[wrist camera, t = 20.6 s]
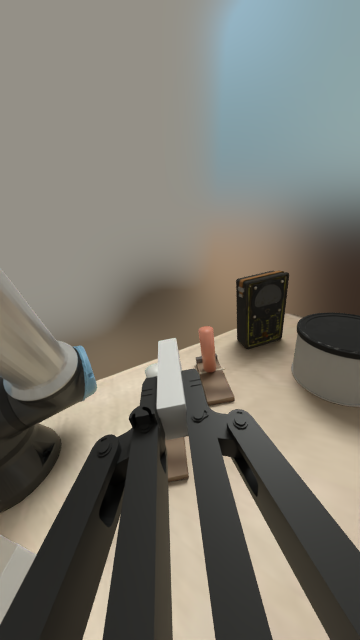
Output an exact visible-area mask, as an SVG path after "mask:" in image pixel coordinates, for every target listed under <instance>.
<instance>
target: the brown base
mask: <svg viewBox="0 0 360 640" xmlns="http://www.w3.org/2000/svg"><path fill="white" fill-rule="evenodd" d="M215 358H216V370H215V371H214V372H211V373H209V372H206V371H204V368H203V361H202V356H201V357H196V363H197V367H198V371H199V374H200V378H201V382H202V385H203V389H204V393H205V396H206V400H207V403H208V406H209V405H215V404H220V403H225V402H230V401H234V395H233V393H232V391H231V388H230V386H229V384H228V382H227V380H226V377H225V375H224V373H223V371H222V370H225V368H221V366H220V364H219V362H218V360H217V355H216V354H215Z"/></svg>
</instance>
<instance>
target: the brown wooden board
mask: <svg viewBox="0 0 360 640" xmlns="http://www.w3.org/2000/svg"><path fill="white" fill-rule="evenodd" d="M165 445H166V448H167V462H168V482H172V481H177V480H182V479H187V478H189V476H188V467H187V458H186V449H185V440H184V437H181V438H175V439H170V440H166V437H165Z"/></svg>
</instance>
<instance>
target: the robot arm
mask: <svg viewBox="0 0 360 640" xmlns="http://www.w3.org/2000/svg"><path fill="white" fill-rule="evenodd" d="M96 389H97V384H96V380H95V377H94V374H93V371H92V368H91V365H90V362H89V360H88V357H87V354H86V352H85V349H84V348H83V347H82V346H77V347H72V346H70V345H69V344H67V343H64V342H61V341H56V340H55V338H54V337H53V336H52V334H51V333H50V332H49V330H48V329H47V328H46V326H45V325H44V324H43V322H42V321H41V320H40V319H39V317H38V316H37V315H36V313H35V312H34V311H33V309H32V308H31V307H30V306H29V304H28V303H27V302H26V300H25V299H24V298H23V296H22V295H21V294H20V293H19V291H18V290H17V288H16V287H15V286H14V285H13V283H12V282H11V281H10V279H9V278H8V277H7V275H6V274H5V273H4V272H3V270H2V269H1V268H0V512H2V511H4V510H7V509H9V508H11V507H12V506H14V505H16V504H17V503H19V502H20V501H21V500H23V499H24V498H25V497H27V496H28V495H29V494H30V493H31V492H32V491H33V490H34V489H35V488H36V487H37V486H38V485H39V484H40V483H41V482H42V481H43V480H44V479H45V477H46V476H47V475H48V473H49V472H50V470H51V469H52V467H53V466H54V464H55V462H56V460H57V458H58V456H59V453H60V448H61V440H60V437H59V436H58V435H57V433H56V432H55V431H54V430H53V429H51V428H49V427H46V426H44V425H41V424H39V423H40V422H42V421H43V420H45V419H47V418H49V417H51V416H53V415H55V414H57V413H59V412H61V411H63V410H65V409H67V408H68V407H70V406H72V405H74V404H76V403H78V402H82V401H84V400H85V398H87V397H89V396H91V395H92V394H94V393H95V391H96ZM129 420H130V423H131V425H132V427H133V428H132V429H130V430H129V431H128V432H126V433H124V434H122V435H120V436H118V437H116V436H115V435H112V434H111V435H106V436H104V437H102V438H101V439H99V440H98V441H97V442H96V444H95V445H94V447H93V448H92V450H91V452H90V454H89V456H88V458H87V460H86V462H85V463H84V465H83V467H82V469H81V471H80V473H79V475H78V477H77V479H76V481H75V483H74V484H73V486H72V488H71V490H70V492H69V494H68V496H67V498H66V500H65V502H64V504H63V505H62V507H61V509H60V511H59V513H58V515H57V517H56V519H55V521H54V523H53V525H52V526H51V528H50V530H49V532H48V534H47V536H46V538H45V540H44V542H43V544H42V546H41V547H40V549H39V551H38V553H37V555H36V557H35V559H34V561H33V563H32V565H31V567H30V568H29V570H28V572H27V574H26V576H25V578H24V580H23V582H22V584H21V586H20V588H19V590H18V591H17V593H16V595H15V597H14V599H13V601H12V603H11V605H10V607H9V609H8V611H7V612H6V614H5V616H4V618H3V620H2V622H1V624H0V640H82V639H83V635H84V632H85V629H86V626H87V622H88V619H89V616H90V612H91V609H92V606H93V603H94V599H95V596H96V593H97V590H98V586H99V583H100V580H101V576H102V573H103V570H104V567H105V563H106V560H107V557H108V553H109V550H110V547H111V544H112V540H113V537H114V534H115V531H116V527H117V524H118V521H119V517H120V523H119V530H118V537H117V544H116V550H115V557H114V564H113V571H112V578H111V585H110V592H109V599H108V606H107V613H106V620H105V627H104V633H103V640H173V635H172V600H171V566H170V531H169V496H168V462H167V448H166V445H165V437H166V440H170V439H175V438H181V437H186V436H189V442H190V450H191V458H192V465H193V473H194V480H195V488H196V495H197V503H198V510H199V518H200V525H201V533H202V540H203V548H204V555H205V563H206V571H207V578H208V586H209V593H210V601H211V608H212V616H213V623H214V631H215V638H216V640H273V639H272V636H271V632H270V628H269V625H268V621H267V617H266V614H265V610H264V606H263V603H262V599H261V595H260V592H259V588H258V584H257V581H256V577H255V573H254V570H253V566H252V562H251V559H250V555H249V551H248V548H247V544H246V541H245V537H244V533H243V530H242V526H241V522H240V519H239V515H238V511H237V508H236V504H235V500H234V497H233V493H232V489H231V486H230V482H229V478H228V475H227V471H226V467H225V464H224V460H223V457H222V455H223V456H228V457H231V458H232V460H233V462H234V464H235V466H236V468H237V469H238V471H239V473H240V475H241V477H242V479H243V480H244V482H245V484H246V486H247V488H248V490H249V491H250V493H251V495H252V497H253V499H254V501H255V502H256V504H257V506H258V508H259V510H260V512H261V513H262V515H263V517H264V519H265V521H266V523H267V524H268V526H269V528H270V530H271V532H272V534H273V535H274V537H275V539H276V541H277V543H278V545H279V546H280V548H281V550H282V552H283V554H284V556H285V557H286V559H287V561H288V563H289V565H290V567H291V568H292V570H293V572H294V574H295V576H296V578H297V579H298V581H299V583H300V585H301V587H302V589H303V590H304V592H305V594H306V596H307V598H308V600H309V601H310V603H311V605H312V607H313V609H314V611H315V612H316V614H317V616H318V618H319V620H320V622H321V623H322V625H323V627H324V629H325V631H326V633H327V634H328V636H329V638H330V640H360V552H359V550H358V549H357V548H356V547H355V545H354V544H353V543H352V541H351V540H350V539H349V538H348V536H347V535H346V534H345V533H344V531H343V530H342V529H341V528H340V526H339V525H338V524H337V523H336V521H335V520H334V519H333V518H332V516H331V515H330V514H329V513H328V511H327V510H326V509H325V508H324V506H323V505H322V504H321V503H320V501H319V500H318V499H317V498H316V496H315V495H314V494H313V493H312V491H311V490H310V489H309V487H308V486H307V485H306V484H305V482H304V481H303V480H302V479H301V477H300V476H299V475H298V474H297V472H296V471H295V470H294V469H293V467H292V466H291V465H290V464H289V462H288V461H287V460H286V459H285V457H284V456H283V455H282V454H281V452H280V451H279V450H278V449H277V447H276V446H275V445H274V444H273V442H272V441H271V440H270V439H269V437H268V436H267V435H266V434H265V432H264V431H263V430H262V428H261V427H260V426H259V425H258V423H257V422H256V421H255V420H254V418H253V417H252V416H251V415H250V414H249V413H248V412H246V411H244V410H240V409H235V410H232V411H231V412H229V414H221V413H217V412H214V411H213V410H211V409H210V408H209V406H208V404H207V401H206V398H205V394H204V390H203V387H202V383H201V380H200V376H199V373H198V372H197V371H196V369H189V370H184V371H182V368H181V361H180V356H179V351H178V347H177V341H176V338H173V339H167V340H162V341H159V342H158V376H155V377H150V378H146V379H145V381H144V383H143V384H142V392H141V400H140V406H138V407H137V408H135V409H134V410H133V411H132V413H131V414H130V416H129ZM120 514H121V516H120Z"/></svg>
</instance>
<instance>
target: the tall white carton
mask: <svg viewBox="0 0 360 640" xmlns="http://www.w3.org/2000/svg"><path fill="white" fill-rule="evenodd" d="M36 555H37V554H35V553H33V552H31V551H30V550H28V549H26V548H24V547H23V546H21V545H19V544H18V543H14V542H13V541H11V540H9V539H8V538H6V537H4V536H2V535H1V534H0V624H1V622H2V620H3V618H4V616H5V614H6V612H7V611H8V609H9V607H10V605H11V603H12V601H13V599H14V597H15V595H16V593H17V591H18V590H19V588H20V586H21V584H22V582H23V580H24V578H25V576H26V574H27V572H28V570H29V568H30V567H31V565H32V563H33V561H34V559H35V557H36Z"/></svg>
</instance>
